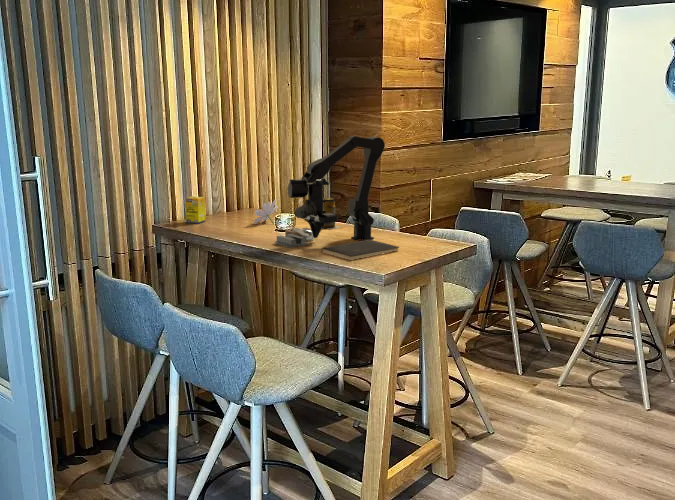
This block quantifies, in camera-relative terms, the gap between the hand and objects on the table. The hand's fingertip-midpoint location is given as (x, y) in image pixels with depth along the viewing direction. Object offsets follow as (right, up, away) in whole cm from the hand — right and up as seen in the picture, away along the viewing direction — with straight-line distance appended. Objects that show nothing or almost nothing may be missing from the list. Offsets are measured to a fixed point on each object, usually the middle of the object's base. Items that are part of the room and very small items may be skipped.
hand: (315, 237), depth 257 cm
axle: (-4, 0, +5) cm, 7 cm away
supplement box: (-53, +7, +36) cm, 64 cm away
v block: (-9, -2, -4) cm, 10 cm away
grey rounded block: (-6, 0, +7) cm, 9 cm away
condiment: (+5, +5, +29) cm, 30 cm away
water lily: (-23, +7, +37) cm, 44 cm away
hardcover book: (+17, -6, -15) cm, 23 cm away
